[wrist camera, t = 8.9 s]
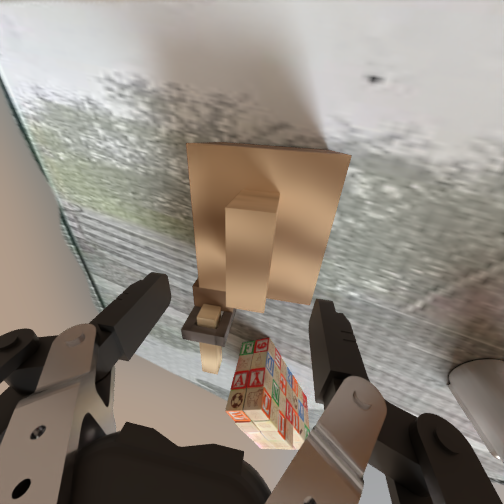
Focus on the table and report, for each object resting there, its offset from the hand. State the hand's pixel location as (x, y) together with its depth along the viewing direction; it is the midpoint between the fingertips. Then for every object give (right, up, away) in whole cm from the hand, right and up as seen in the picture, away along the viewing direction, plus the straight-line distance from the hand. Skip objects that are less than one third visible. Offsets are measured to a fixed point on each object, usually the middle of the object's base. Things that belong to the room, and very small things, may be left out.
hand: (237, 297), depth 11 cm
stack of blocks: (+6, -23, +33) cm, 41 cm away
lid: (+2, +5, +9) cm, 11 cm away
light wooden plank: (-4, -8, +14) cm, 17 cm away
